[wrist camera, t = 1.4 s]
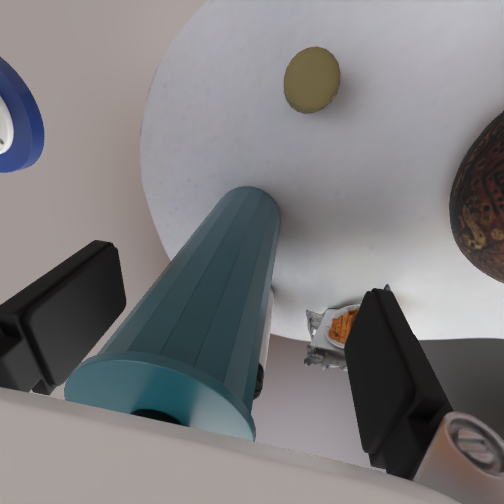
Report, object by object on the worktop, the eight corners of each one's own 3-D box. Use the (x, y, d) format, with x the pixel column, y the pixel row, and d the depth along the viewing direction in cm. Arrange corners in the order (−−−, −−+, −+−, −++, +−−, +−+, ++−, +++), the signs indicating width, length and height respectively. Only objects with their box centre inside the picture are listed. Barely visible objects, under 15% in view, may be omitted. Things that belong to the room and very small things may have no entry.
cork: (307, 124, 35) (310, 132, 26) (274, 89, 34) (264, 85, 25) (344, 82, 33) (363, 75, 23) (309, 43, 31) (313, 18, 22)
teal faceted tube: (203, 214, 44) (51, 396, 17) (249, 171, 40) (142, 326, 12) (246, 257, 47) (174, 472, 20) (294, 222, 42) (285, 439, 15)
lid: (49, 385, 18) (-74, 525, 12) (145, 307, 13) (16, 481, 7) (179, 467, 21) (132, 610, 15) (297, 430, 16) (296, 622, 10)
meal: (387, 280, 45) (416, 341, 34) (393, 299, 47) (423, 363, 35) (302, 303, 50) (303, 363, 39) (310, 320, 52) (313, 381, 40)
